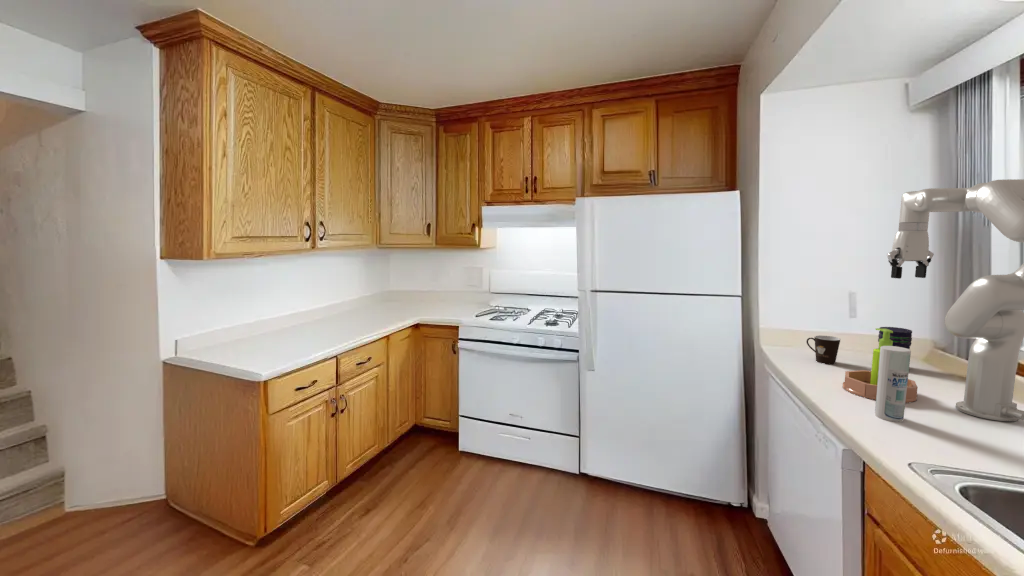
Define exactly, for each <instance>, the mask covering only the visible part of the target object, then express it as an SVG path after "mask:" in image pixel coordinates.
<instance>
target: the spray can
mask: <svg viewBox="0 0 1024 576" xmlns="http://www.w3.org/2000/svg"><path fill="white" fill-rule="evenodd" d="M911 354H912V351H911V349H910V350H909V349H907V348H903V347H897V346H881V347H880V358H879V370H878V383H877V395H876V400H875V409H874V413H875V416H876V417H877V418H879V419H881V420H884V421H888V422H894V423H896V422H897V423H901V422H903V421H904V418H905V409H906V403H905V401H906V392H907V383H908V379H909V371H910V362H911Z"/></svg>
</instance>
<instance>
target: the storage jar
mask: <svg viewBox="0 0 1024 576" xmlns="http://www.w3.org/2000/svg"><path fill="white" fill-rule="evenodd" d="M879 328H884V329H889V330H891V331H893V333H890V339H891V340H892V341H893V344H892V346H897V347H903V348H907V349H909V350H911V346H912V341H913V337H912V336H913V330H912V329H909V328H908V329H907V328H904V327H896V326H895V327H894V326H880V327H879ZM877 337H878V338H877V342H878V343H879V339H882V338H883V331H880V330H878V336H877Z"/></svg>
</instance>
